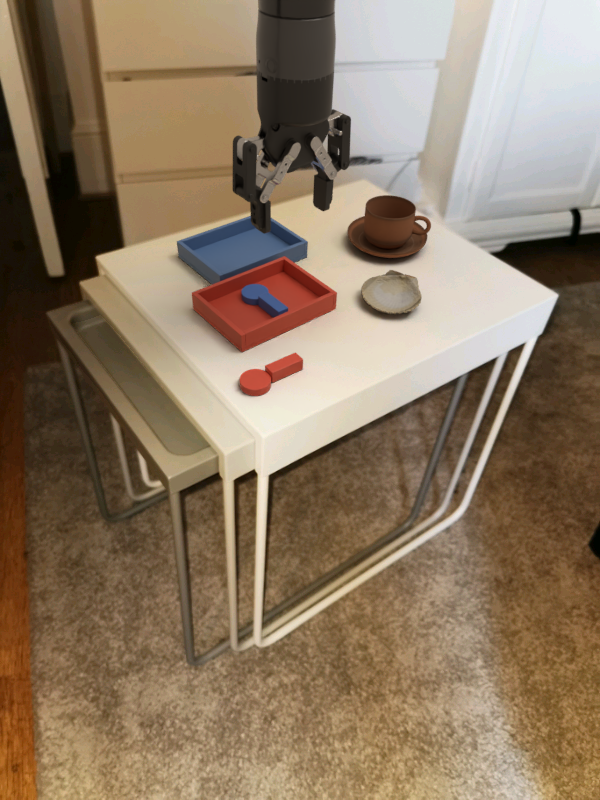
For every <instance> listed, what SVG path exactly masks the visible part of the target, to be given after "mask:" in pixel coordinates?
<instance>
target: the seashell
mask: <svg viewBox="0 0 600 800" xmlns="http://www.w3.org/2000/svg"><path fill="white" fill-rule="evenodd" d="M360 292H361V297H362V300H364V302H365V303H367V305H368V306H369V307H371V308H372V309H375V310H376V311H377V312H381V313H386V314H387V315H391V314H392V315H397V314H398V315H402V314H407V313H409V312H410V313H411V312H412V311H413V310H416V309H417V307H419V306H420V304H421V303H422V297H423V296H422V293H421V290H420V287H419V279H418V278H417V277H416V276H413V275H410V274H406V273H405V274H404V273H402V272H399V271H397V270H394V269H389V270H388V271H387V272H386V273H385V274H381V275H377V276H372V277H370V278H368V279H366V280H365V281H364V282H363V284H362V285H361V288H360Z"/></svg>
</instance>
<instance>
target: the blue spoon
mask: <svg viewBox="0 0 600 800" xmlns="http://www.w3.org/2000/svg"><path fill="white" fill-rule="evenodd" d="M241 295H242V300H243V301H244V302H245V303H246V304H249V305H258V306H259V307H261V308H262V309H263V310H264V311H266V312H267V313H268V314H269V315H271V316H272V317H273V318H274V317H276V316H279V315H281V314H283V313H285V312H288V307H287V306H285V305H284V304H283V303H282V302H280V301H279V300H278V299H276V298H275V297H274V296H272V295H271V294H270V293H269V291H268V289H267V288H266V287H265V286H263V285H260V284H250V285H247V286H245V287H244V288H243V289H242V291H241Z"/></svg>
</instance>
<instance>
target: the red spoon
mask: <svg viewBox="0 0 600 800" xmlns="http://www.w3.org/2000/svg"><path fill="white" fill-rule="evenodd" d="M302 370H304V359H303V358H302V356H301V355H299V354H298V353H297V352H292V353H291V354H289V355H286V356H284V357H281V358H279V359H277V360H274V361H272V362H270V363H267V364H266V365H264V370H263V369H261V368H250V369H247V370H246V371H243V372H242V373H241V374H240V376H239V388H240V390H241V392H242V393H244V394H246V395H248V396H252V397H258V396H259V397H260V396H262V395H265V394H267V393H268V392H269V391H270V389H272V383H273V384H274V383H276V382H278V381H279V380H283V379H284V378H287V377H289V376H291V375H293V374H296V373H297V372H300V371H302Z"/></svg>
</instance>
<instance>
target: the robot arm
mask: <svg viewBox="0 0 600 800" xmlns="http://www.w3.org/2000/svg"><path fill="white" fill-rule="evenodd" d="M257 8H258V10H257V22H256V33H255V56H256V57H255V58H256V59H255V60H256V61H255V62H256V109H257V114H258V116H259V121H260V127H259V131H258V133H257V135H255V136H252V137H243V136H241V135H236V136H234V138H233V139H232V192H233V193H234V194H235V195H236V196H239V197H240V198H242V199H243V200H244V201H246V202H248V203H249V207H250V208H249V209H250V211H249V212H250V216H251V223H252V225H253V226H255V228H256V229H258V230H259V231H261V232H262V233H264V234H265V233H267V232H270V231H271V218H272V217H271V216H272V205H271V204H272V203H271V202H272V201H271V200H270V198H271V196H272V194H273V193H274V190H275V188H276V187H277V186H278V185H281V184H282V182H283V180H284V179H285V177H286V174H289V173H294V172H295V171H297V170H298V169H307V168H309V167H312V168H313V170H314V171H315V172H316V174H314V175H313V189H312V191H313V193H312V204H313V206H314V208H316V209H318V210H319V211H322V212H326V211H328V210H330V207H331V204H332V201H333V197H334V196H333V194H334V192H333V191H334V180H335V179H336V177H337V175H338V173H339V172H340V171H341V170H342V171H346V170H347V169H348V168H349V167H350V162H351V161H350V160H351V159H350V158H351V135H352V133H351V129H352V118H351V116H350V115H348V114H345V113H343V112H341V111H339V110H336V109H334V108H333V99H334V84H335V83H334V80H335V66H336V65H335V64H336V46H337V31H336V0H257ZM326 138H327V150H326V148H325V147H324V142H325V140H326ZM260 151H261V152H260ZM270 164H271V166H273V167H274V169H273V170H272V171H271V170H269V165H270Z"/></svg>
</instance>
